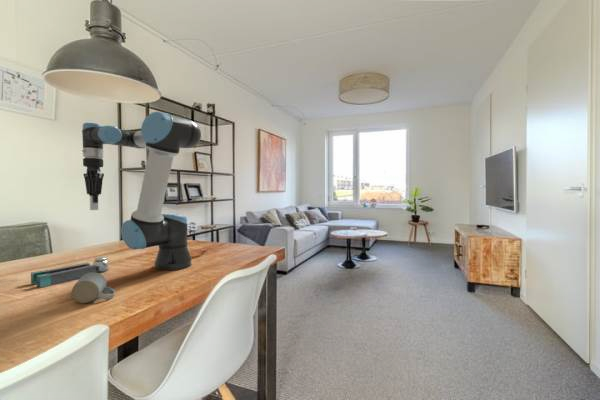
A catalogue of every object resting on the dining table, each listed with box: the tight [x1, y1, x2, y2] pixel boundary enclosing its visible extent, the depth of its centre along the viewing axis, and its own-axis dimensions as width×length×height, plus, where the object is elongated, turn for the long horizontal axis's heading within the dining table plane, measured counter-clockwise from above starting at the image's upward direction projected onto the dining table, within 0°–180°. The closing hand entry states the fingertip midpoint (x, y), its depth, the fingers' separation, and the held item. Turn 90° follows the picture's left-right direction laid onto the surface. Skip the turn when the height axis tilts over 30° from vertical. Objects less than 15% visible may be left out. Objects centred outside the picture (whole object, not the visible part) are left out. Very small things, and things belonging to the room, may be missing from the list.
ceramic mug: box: [70, 272, 116, 304], centre depth 90 cm, size 11×8×8 cm
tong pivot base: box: [36, 258, 109, 289], centre depth 112 cm, size 24×6×4 cm, turn 151°
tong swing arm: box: [30, 256, 107, 285], centre depth 112 cm, size 23×6×5 cm, turn 148°
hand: (94, 209), depth 133 cm, fingers closed
